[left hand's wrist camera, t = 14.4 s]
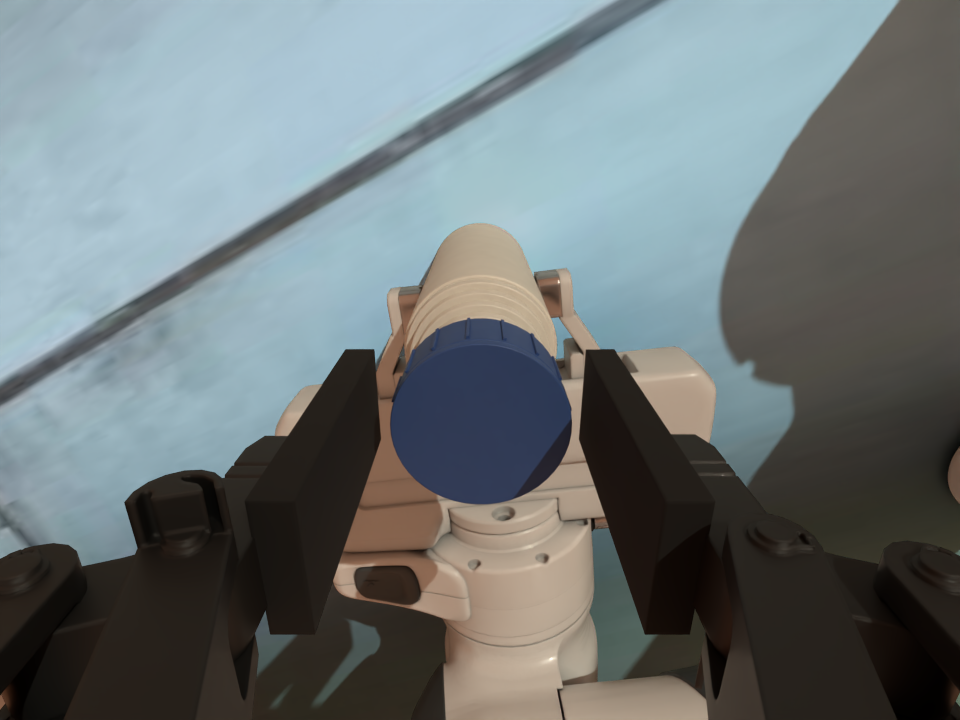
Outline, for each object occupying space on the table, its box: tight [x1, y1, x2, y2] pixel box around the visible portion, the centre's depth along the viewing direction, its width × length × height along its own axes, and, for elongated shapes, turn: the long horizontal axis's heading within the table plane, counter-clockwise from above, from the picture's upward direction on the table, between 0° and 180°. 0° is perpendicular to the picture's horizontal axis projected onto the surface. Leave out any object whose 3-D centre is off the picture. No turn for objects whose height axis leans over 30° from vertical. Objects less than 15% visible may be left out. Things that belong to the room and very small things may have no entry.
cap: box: [390, 318, 572, 505], centre depth 14 cm, size 4×4×2 cm
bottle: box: [404, 223, 557, 364], centre depth 21 cm, size 5×5×18 cm
